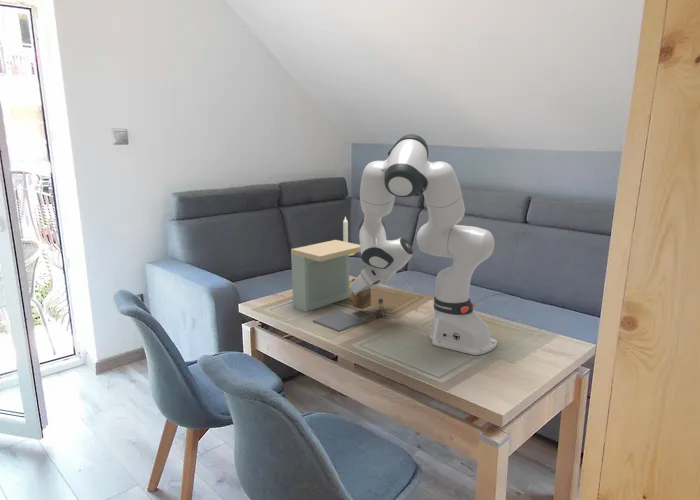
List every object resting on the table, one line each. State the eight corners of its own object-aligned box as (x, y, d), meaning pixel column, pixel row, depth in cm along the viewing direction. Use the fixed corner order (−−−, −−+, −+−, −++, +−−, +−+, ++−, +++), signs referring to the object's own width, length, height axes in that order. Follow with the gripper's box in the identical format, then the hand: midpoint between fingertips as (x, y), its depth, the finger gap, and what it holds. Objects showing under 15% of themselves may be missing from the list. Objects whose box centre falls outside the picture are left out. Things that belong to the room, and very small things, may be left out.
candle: (361, 284, 230) (360, 215, 223) (349, 290, 222) (348, 218, 214) (342, 281, 235) (342, 213, 228) (331, 286, 227) (329, 216, 219)
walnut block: (370, 305, 193) (370, 278, 191) (362, 309, 189) (362, 281, 187) (360, 303, 196) (360, 276, 194) (352, 306, 192) (352, 279, 190)
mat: (366, 321, 185) (366, 319, 185) (339, 331, 175) (339, 330, 175) (340, 312, 195) (340, 310, 195) (312, 321, 185) (312, 320, 185)
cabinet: (364, 302, 206) (364, 245, 200) (321, 317, 189) (319, 256, 184) (336, 293, 217) (335, 239, 212) (293, 307, 201) (291, 249, 195)
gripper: (391, 258, 192) (371, 278, 200) (359, 270, 177) (339, 291, 185) (401, 271, 191) (380, 291, 199) (369, 284, 175) (348, 305, 183)
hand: (360, 291), depth 192 cm, fingers closed on walnut block, 5 cm apart
